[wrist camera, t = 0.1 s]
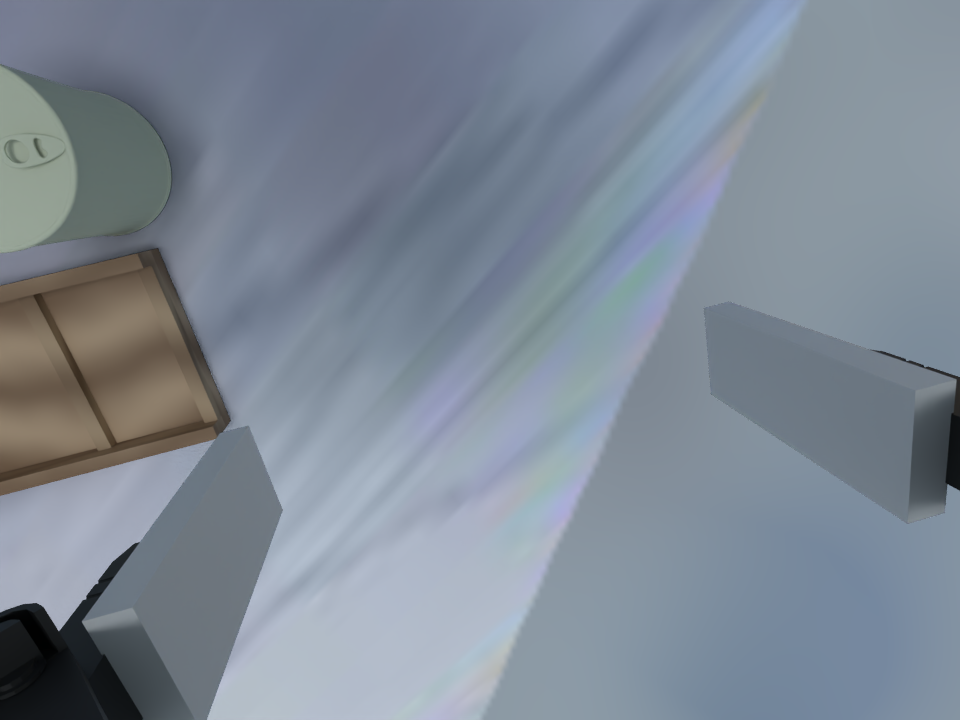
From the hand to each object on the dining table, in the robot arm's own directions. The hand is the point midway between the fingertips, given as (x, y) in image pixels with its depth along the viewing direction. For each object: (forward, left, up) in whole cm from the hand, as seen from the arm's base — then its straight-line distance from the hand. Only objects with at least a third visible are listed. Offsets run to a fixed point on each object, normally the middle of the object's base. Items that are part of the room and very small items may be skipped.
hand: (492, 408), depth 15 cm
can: (-12, -20, -28) cm, 37 cm away
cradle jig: (+1, -30, -28) cm, 41 cm away
